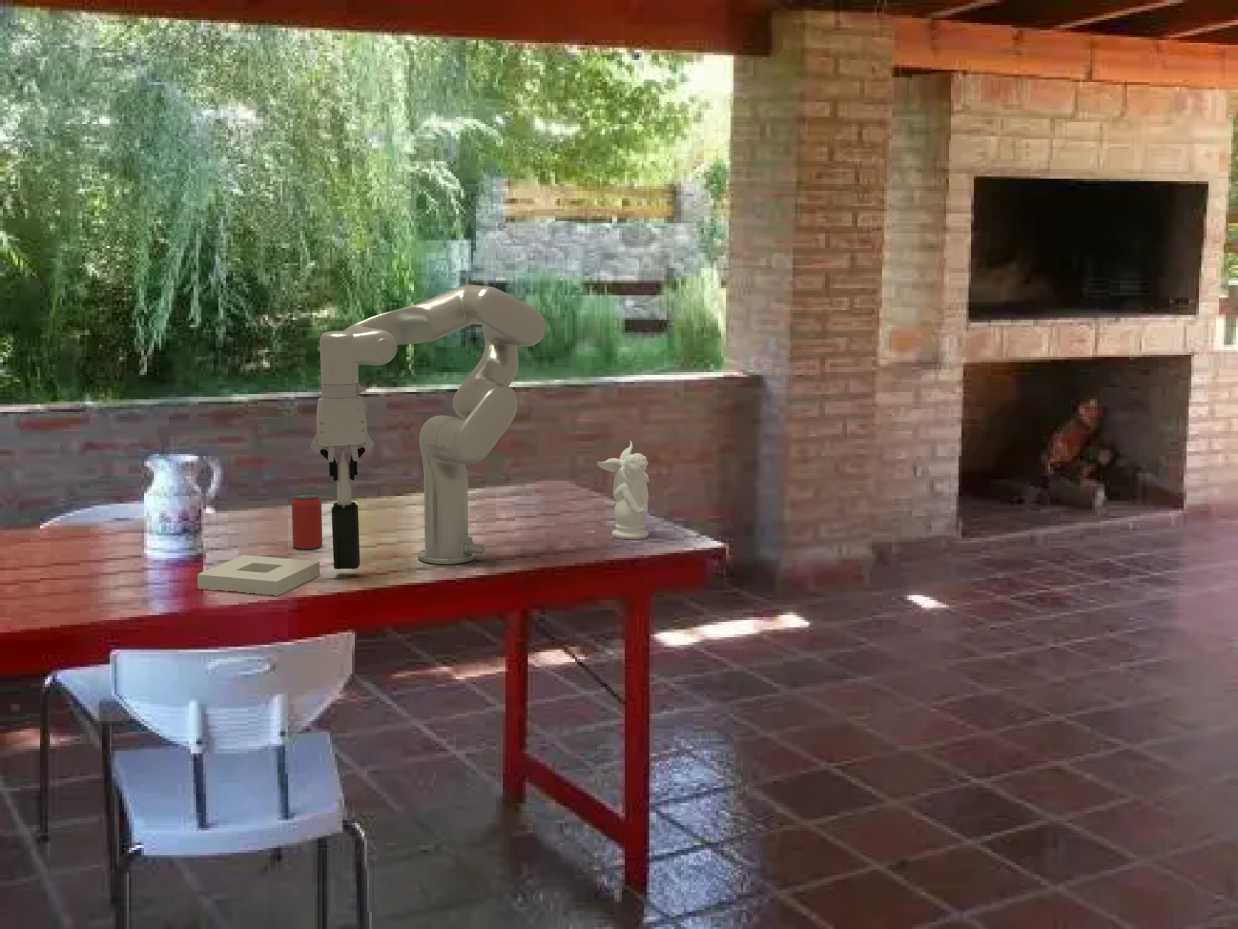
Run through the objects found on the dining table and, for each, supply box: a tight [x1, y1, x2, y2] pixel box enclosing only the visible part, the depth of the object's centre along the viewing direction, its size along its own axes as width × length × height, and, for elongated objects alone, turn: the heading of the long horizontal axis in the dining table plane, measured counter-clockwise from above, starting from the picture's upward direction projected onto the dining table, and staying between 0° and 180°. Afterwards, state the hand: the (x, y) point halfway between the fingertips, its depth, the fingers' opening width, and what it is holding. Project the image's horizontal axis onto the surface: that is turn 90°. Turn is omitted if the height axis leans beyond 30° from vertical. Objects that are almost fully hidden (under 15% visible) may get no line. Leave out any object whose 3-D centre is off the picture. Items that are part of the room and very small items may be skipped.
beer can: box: [291, 492, 323, 550], centre depth 354 cm, size 7×7×12 cm
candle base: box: [196, 554, 321, 597], centre depth 322 cm, size 18×18×3 cm
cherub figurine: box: [596, 440, 650, 540], centre depth 368 cm, size 12×12×22 cm
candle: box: [330, 448, 361, 570], centre depth 326 cm, size 5×5×25 cm
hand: (343, 478), depth 325 cm, fingers closed on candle, 3 cm apart
